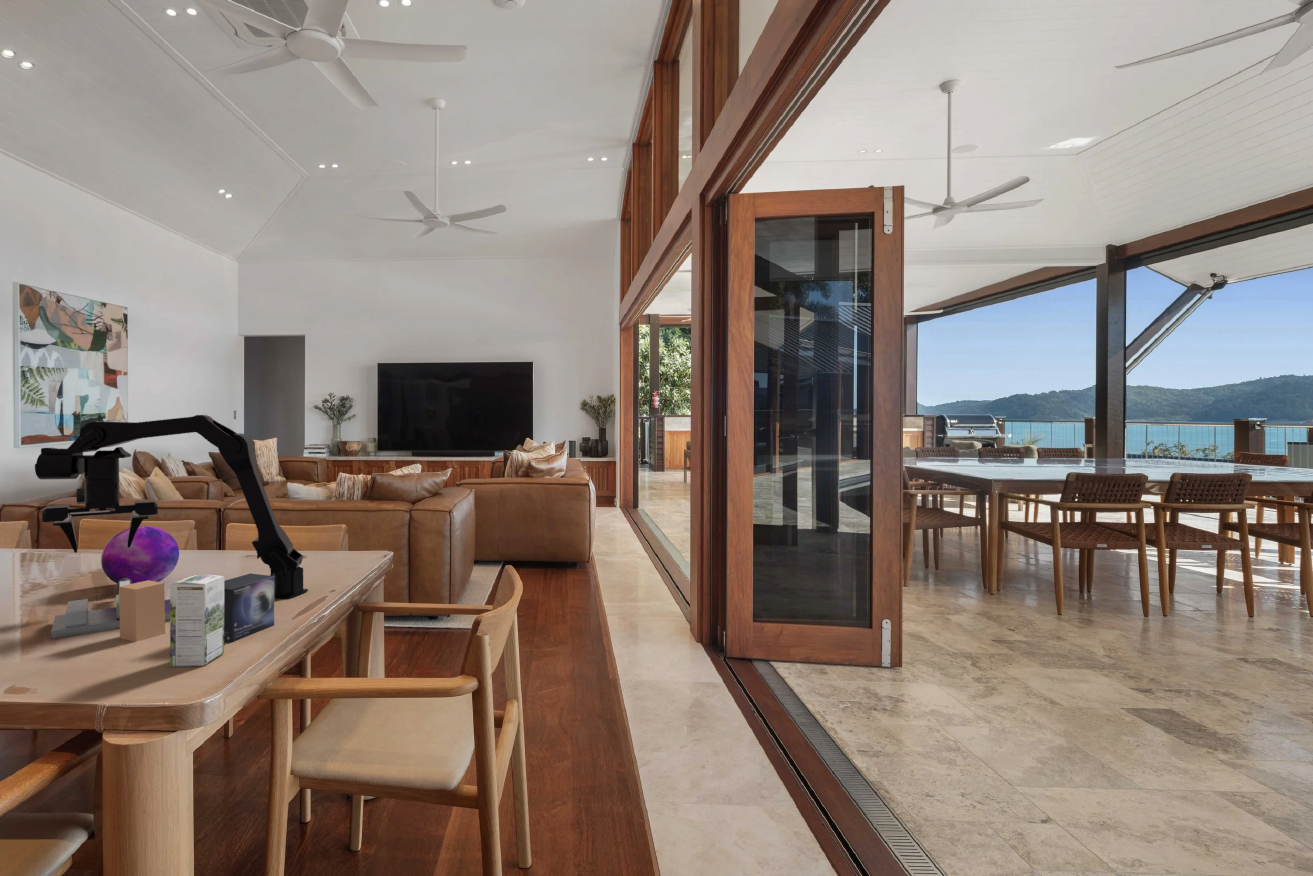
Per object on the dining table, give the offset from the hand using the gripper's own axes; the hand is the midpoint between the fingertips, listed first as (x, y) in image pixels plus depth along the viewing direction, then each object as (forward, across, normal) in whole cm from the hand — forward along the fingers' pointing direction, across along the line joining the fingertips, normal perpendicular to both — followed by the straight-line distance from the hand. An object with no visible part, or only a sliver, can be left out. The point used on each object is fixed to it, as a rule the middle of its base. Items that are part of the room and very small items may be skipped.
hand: (102, 549), depth 138 cm
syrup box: (+13, -12, +48) cm, 52 cm away
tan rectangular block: (+13, -6, +26) cm, 30 cm away
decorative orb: (+13, -7, -18) cm, 24 cm away
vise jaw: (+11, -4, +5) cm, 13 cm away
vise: (+13, -4, +12) cm, 18 cm away
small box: (+13, -20, +36) cm, 44 cm away
